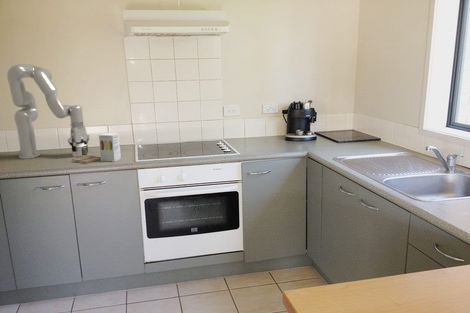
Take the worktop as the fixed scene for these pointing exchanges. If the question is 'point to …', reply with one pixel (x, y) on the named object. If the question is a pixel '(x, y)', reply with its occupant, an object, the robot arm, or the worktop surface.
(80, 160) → the oak trivet
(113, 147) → the supplement box
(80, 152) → the medicine bottle
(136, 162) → the worktop surface
